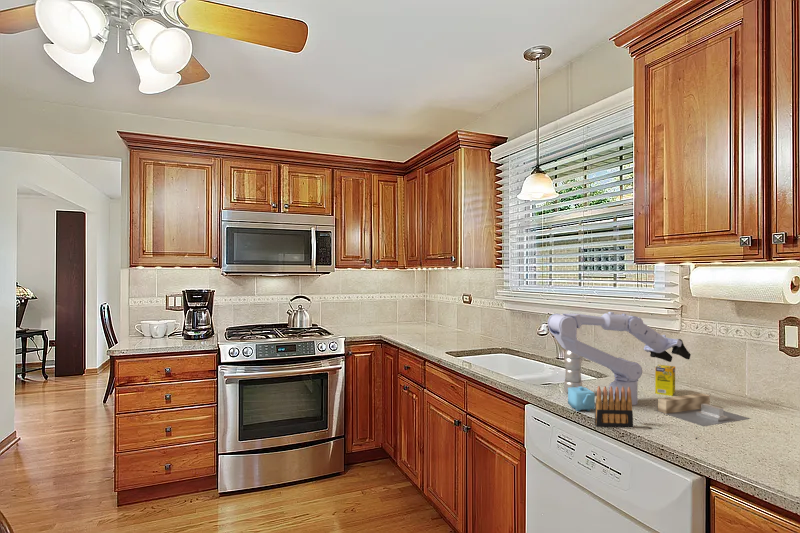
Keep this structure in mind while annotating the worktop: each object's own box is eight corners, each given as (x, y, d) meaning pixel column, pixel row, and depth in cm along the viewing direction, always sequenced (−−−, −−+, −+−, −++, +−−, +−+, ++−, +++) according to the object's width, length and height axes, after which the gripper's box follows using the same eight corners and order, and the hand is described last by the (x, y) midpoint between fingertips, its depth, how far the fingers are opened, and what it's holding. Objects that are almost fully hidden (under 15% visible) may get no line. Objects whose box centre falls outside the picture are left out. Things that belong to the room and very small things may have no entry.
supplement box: (673, 398, 176) (673, 368, 176) (654, 396, 180) (654, 366, 180) (675, 395, 181) (675, 366, 181) (657, 392, 185) (657, 364, 185)
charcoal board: (703, 429, 143) (703, 426, 143) (654, 413, 158) (654, 410, 158) (751, 421, 150) (751, 418, 150) (699, 406, 166) (699, 404, 166)
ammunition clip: (630, 425, 146) (631, 385, 146) (633, 427, 144) (633, 387, 144) (594, 424, 147) (594, 385, 147) (596, 426, 145) (596, 386, 145)
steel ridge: (718, 421, 147) (718, 410, 147) (696, 415, 154) (696, 404, 154) (727, 420, 149) (728, 408, 149) (706, 413, 155) (706, 402, 155)
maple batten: (666, 413, 155) (666, 401, 155) (658, 411, 158) (658, 398, 158) (709, 407, 162) (709, 395, 162) (701, 405, 165) (701, 393, 165)
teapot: (599, 415, 156) (599, 392, 156) (580, 415, 156) (580, 392, 156) (583, 404, 168) (583, 383, 168) (566, 404, 168) (566, 383, 168)
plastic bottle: (584, 396, 178) (584, 342, 179) (564, 395, 180) (565, 341, 180) (581, 392, 185) (581, 340, 185) (562, 391, 186) (562, 339, 186)
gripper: (670, 324, 165) (700, 345, 166) (637, 331, 178) (666, 351, 179) (665, 342, 162) (696, 363, 163) (632, 348, 175) (661, 367, 176)
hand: (680, 358), depth 171 cm, fingers open, 7 cm apart
